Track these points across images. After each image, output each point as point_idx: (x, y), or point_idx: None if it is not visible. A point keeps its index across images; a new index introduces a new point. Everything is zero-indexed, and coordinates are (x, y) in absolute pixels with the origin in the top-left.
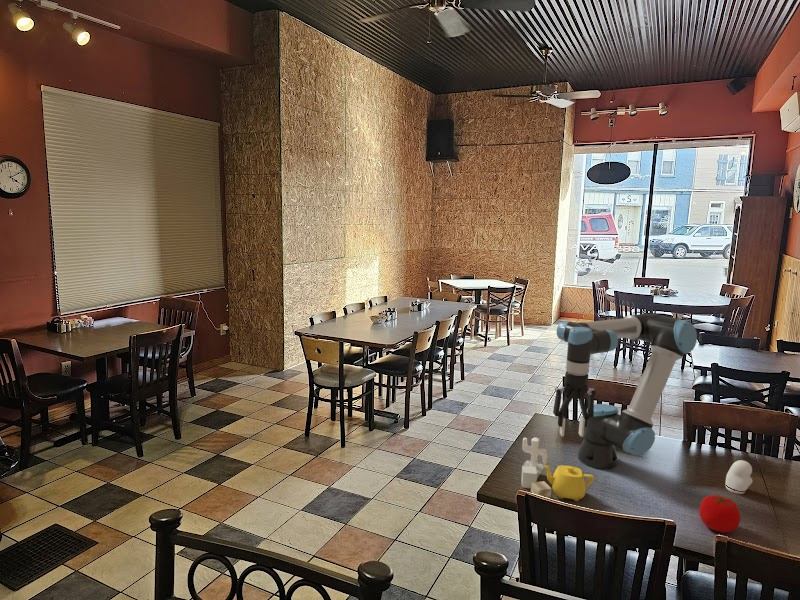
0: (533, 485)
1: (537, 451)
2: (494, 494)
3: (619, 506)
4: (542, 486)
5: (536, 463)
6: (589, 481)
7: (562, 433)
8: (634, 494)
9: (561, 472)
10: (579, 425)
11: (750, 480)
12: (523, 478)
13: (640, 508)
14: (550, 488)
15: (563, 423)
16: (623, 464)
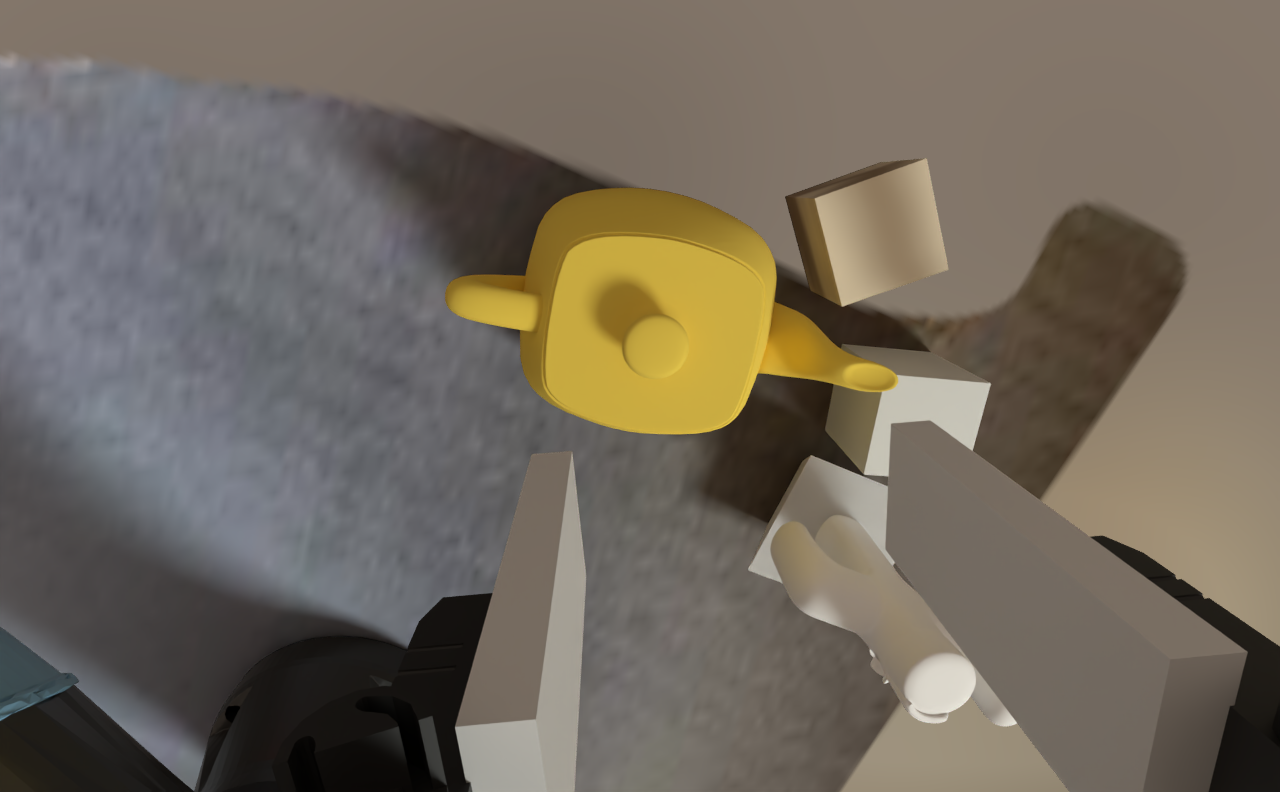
0: (940, 237)
1: (880, 589)
2: (1143, 241)
3: (306, 183)
4: (877, 224)
5: (836, 538)
6: (491, 282)
7: (950, 443)
8: (172, 353)
9: (738, 303)
10: (578, 678)
11: None
12: (958, 369)
13: (156, 172)
14: (822, 199)
15: (1100, 560)
16: (188, 705)
